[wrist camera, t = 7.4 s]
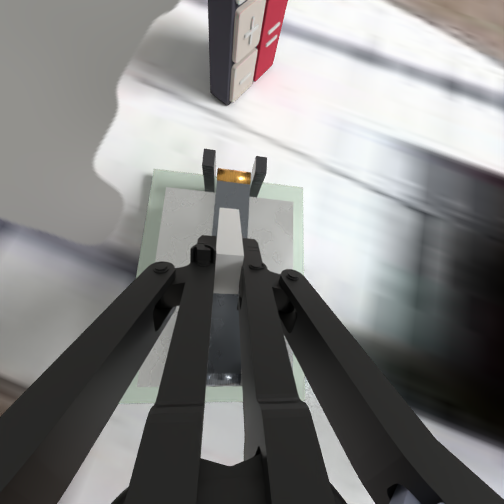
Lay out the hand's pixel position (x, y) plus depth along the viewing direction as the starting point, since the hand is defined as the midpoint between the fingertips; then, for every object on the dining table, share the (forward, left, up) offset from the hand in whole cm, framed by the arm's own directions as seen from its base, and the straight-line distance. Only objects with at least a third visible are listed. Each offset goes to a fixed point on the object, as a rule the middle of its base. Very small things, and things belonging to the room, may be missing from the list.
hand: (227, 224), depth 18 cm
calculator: (-14, -22, -9) cm, 27 cm away
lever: (+1, +3, -2) cm, 4 cm away
